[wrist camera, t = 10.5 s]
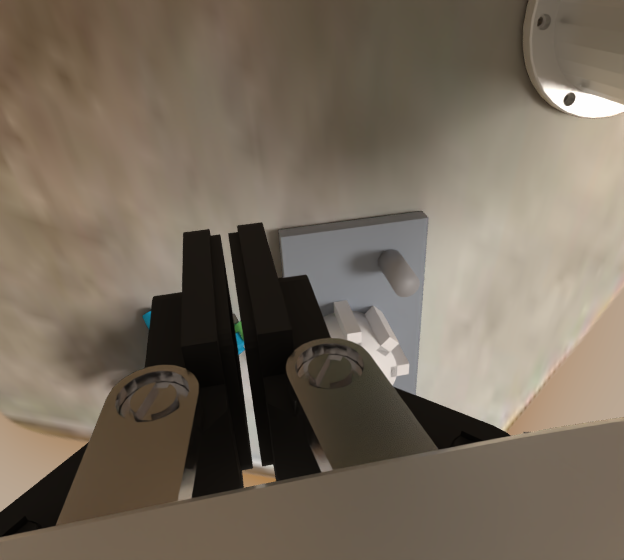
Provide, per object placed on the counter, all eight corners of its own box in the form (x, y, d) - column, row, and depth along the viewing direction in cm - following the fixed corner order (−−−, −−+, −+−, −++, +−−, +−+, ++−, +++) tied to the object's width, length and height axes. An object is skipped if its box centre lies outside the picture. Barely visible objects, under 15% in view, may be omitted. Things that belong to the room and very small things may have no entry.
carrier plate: (422, 211, 38) (452, 243, 34) (409, 411, 49) (430, 455, 44) (276, 230, 37) (288, 266, 32) (295, 432, 47) (306, 480, 43)
